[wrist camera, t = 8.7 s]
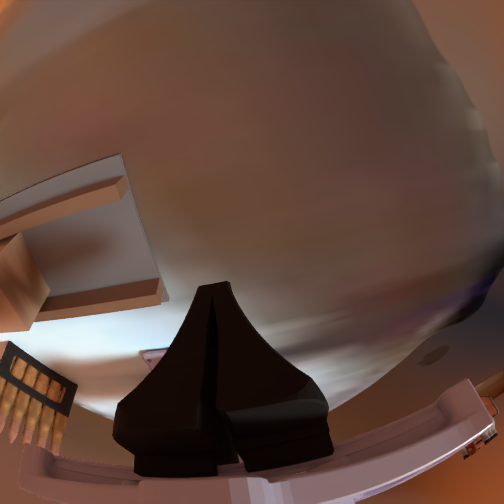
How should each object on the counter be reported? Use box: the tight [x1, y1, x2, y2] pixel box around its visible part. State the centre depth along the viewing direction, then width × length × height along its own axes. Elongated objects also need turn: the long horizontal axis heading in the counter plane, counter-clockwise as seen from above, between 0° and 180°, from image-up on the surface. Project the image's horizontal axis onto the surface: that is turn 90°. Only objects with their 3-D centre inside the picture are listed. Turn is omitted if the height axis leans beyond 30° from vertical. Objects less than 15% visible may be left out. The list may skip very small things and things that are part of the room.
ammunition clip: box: [0, 341, 78, 456], centre depth 21 cm, size 11×2×12 cm, turn 42°
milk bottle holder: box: [459, 396, 499, 459], centre depth 65 cm, size 21×35×19 cm, turn 57°
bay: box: [0, 153, 169, 322], centre depth 18 cm, size 12×18×2 cm, turn 98°
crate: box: [0, 232, 51, 333], centre depth 16 cm, size 6×6×5 cm
